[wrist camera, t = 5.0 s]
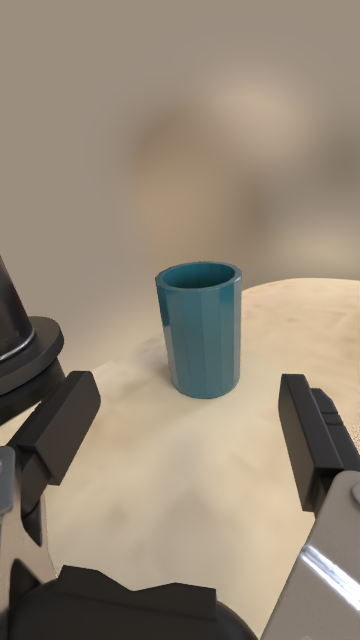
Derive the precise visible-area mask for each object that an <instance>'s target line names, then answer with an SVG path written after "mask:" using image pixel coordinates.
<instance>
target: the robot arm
mask: <svg viewBox="0 0 360 640" xmlns="http://www.w3.org/2000/svg"><path fill="white" fill-rule="evenodd" d="M35 336H36V331H35V329H34V327H33V325H32V324H31V322H30V320H29V318H28V316H27V314H26V311H25V309H24V307H23V305H22V303H21V300H20V298H19V296H18V294H17V291H16V289H15V287H14V285H13V283H12V281H11V278H10V276H9V274H8V272H7V270H6V268H5V265H4V263H3V261H2V259H1V256H0V364H1V363H3V362H5V361H7V360H9V359H11V358H13V357H14V356H16V355H18V354H19V353H20V352H22V351H23V350H25V349H26V348H27V347H28V346H29V345H30V344H31V343H32V342H33V340H34V339H35ZM100 403H101V398H100V394H99V391H98V388H97V385H96V383H95V380H94V377H93V374H92V373H91V372H90V371H72V372H70V373H69V375H68V376H67V377H66V379H65V380H64V381H63V382H60V383H59V384H58V385H56V386H55V387H54V388H52V389H51V390H50V391H49V392H48V393H47V394H46V396H45V397H44V398H43V399H42V401H41V403H39V404H38V406H37V407H36V408H35V411H33V412H32V413H31V414H30V416H29V417H28V418H27V419H26V421H25V422H24V423H23V424H22V426H21V427H20V428H19V429H18V431H17V432H16V433H15V435H14V436H13V437H12V438H11V440H10V441H9V442H8V443H7V444H6V446H1V447H0V640H258V638H257V637H256V635H255V634H254V633H253V632H252V630H251V629H250V628H249V627H248V625H247V624H246V623H245V622H244V621H243V620H242V619H241V618H240V617H239V616H238V615H237V614H236V613H235V612H234V611H232V610H231V609H230V608H229V607H227V606H226V605H224V604H223V603H221V602H219V601H217V596H216V589H213V588H207V587H201V586H194V585H188V584H182V583H170V584H166V585H161V586H156V587H152V588H147V589H142V590H138V591H131V590H129V589H127V588H125V587H124V586H122V585H121V584H119V583H117V582H116V581H114V580H113V579H111V578H109V577H108V576H106V575H105V574H103V573H101V572H100V571H98V570H93V569H86V568H80V567H74V566H67V565H63V567H62V569H61V572H60V574H59V577H58V578H56V576H55V571H54V567H53V563H52V561H51V558H50V555H49V550H48V537H47V522H46V507H45V496H44V493H43V491H44V490H45V488H46V486H47V485H58V486H59V485H60V484H61V482H62V480H63V478H64V476H65V474H66V472H67V470H68V468H69V466H70V464H71V462H72V460H73V459H74V457H75V455H76V453H77V451H78V449H79V447H80V445H81V443H82V441H83V439H84V437H85V435H86V433H87V432H88V430H89V428H90V426H91V424H92V422H93V420H94V418H95V416H96V414H97V412H98V410H99V408H100ZM278 410H279V417H280V422H281V426H282V430H283V434H284V438H285V442H286V446H287V450H288V454H289V458H290V462H291V466H292V470H293V474H294V478H295V482H296V486H297V490H298V494H299V498H300V502H301V506H302V510H303V511H308V512H314V515H315V519H316V520H315V522H314V525H313V527H312V529H311V531H310V534H309V536H308V538H307V540H306V542H305V544H304V546H303V547H302V549H301V551H300V553H299V555H298V557H297V559H296V561H295V563H294V565H293V568H292V570H291V572H290V574H289V577H288V579H287V581H286V583H285V585H284V588H283V590H282V592H281V594H280V596H279V599H278V601H277V603H276V605H275V608H274V610H273V612H272V614H271V616H270V619H269V621H268V623H267V625H266V627H265V630H264V632H263V634H262V636H261V639H260V640H360V455H359V453H358V451H357V449H356V447H355V445H354V443H353V441H352V439H351V437H350V435H349V433H348V431H347V429H346V427H345V426H344V425H343V421H342V419H341V417H340V415H338V411H337V409H336V407H335V405H334V403H333V401H332V399H331V398H329V397H328V396H327V395H326V394H325V393H324V392H323V391H322V390H321V389H318V388H310V387H309V384H308V382H307V380H306V377H305V376H304V375H303V374H282V376H281V384H280V392H279V400H278Z"/></svg>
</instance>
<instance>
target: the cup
mask: <svg viewBox="0 0 360 640" xmlns="http://www.w3.org/2000/svg"><path fill="white" fill-rule="evenodd" d="M155 281H156V287H157V294H158V299H159V306H160V313H161V319H162V325H163V331H164V338H165V344H166V350H167V357H168V363H169V369H170V374H171V380H172V383H173V385H174V386H175V387H176V389H178V390H179V391H180V392H181V393H183V394H185V395H187V396H190V397H193V398H199V399H210V398H216V397H219V396H222V395H224V394H226V393H228V392H230V391H231V390H232V389H233V388H234V387H235V386H236V385H237V383H238V381H239V378H240V346H241V294H242V270H240V269H239V268H238V267H237V266H235V265H231V264H228V263H223V262H214V261H212V262H211V261H204V262H192V263H185V264H180V265H177V266H173V267H170V268H168V269H166V270H164V271H162V272H160V273H159V274H158V276H157V277H156V278H155Z"/></svg>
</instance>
